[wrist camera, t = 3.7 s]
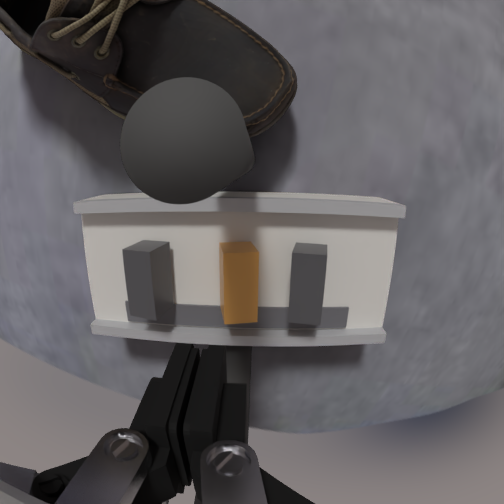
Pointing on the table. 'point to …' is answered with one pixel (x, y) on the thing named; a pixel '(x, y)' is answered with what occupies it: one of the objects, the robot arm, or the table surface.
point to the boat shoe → (152, 51)
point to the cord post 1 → (185, 141)
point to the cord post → (238, 375)
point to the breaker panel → (270, 264)
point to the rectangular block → (238, 282)
